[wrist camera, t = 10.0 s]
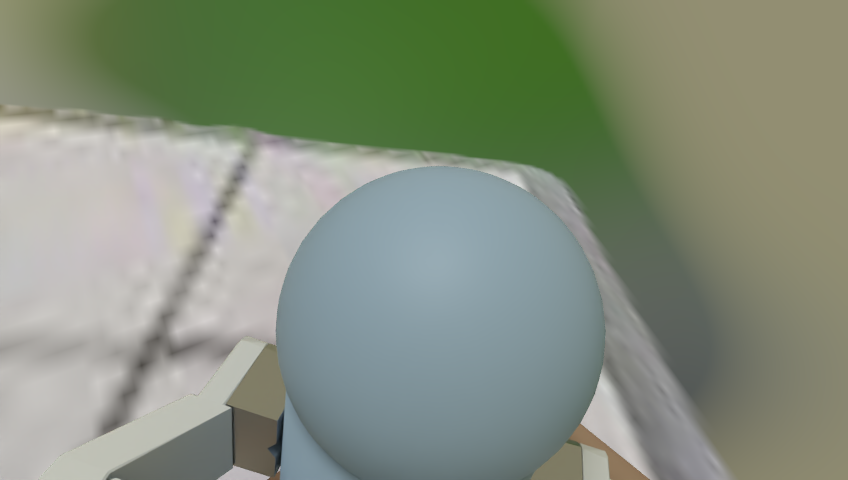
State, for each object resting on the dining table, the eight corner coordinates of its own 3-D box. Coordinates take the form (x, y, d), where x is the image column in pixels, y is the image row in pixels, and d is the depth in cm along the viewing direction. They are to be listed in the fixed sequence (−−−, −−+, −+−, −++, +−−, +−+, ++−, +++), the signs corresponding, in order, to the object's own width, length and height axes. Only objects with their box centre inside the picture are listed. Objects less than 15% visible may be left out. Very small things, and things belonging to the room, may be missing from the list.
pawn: (332, 830, 10) (520, 490, 3) (203, 588, 13) (157, 130, 6) (502, 619, 14) (765, 242, 7) (372, 465, 17) (464, 87, 10)
